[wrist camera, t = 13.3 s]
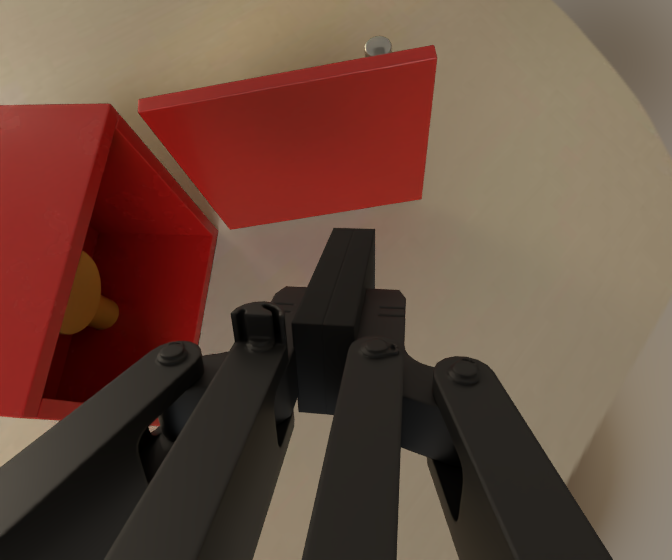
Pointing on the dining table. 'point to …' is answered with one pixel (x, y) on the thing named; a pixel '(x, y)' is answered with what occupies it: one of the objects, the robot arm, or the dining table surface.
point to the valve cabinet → (89, 256)
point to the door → (304, 136)
